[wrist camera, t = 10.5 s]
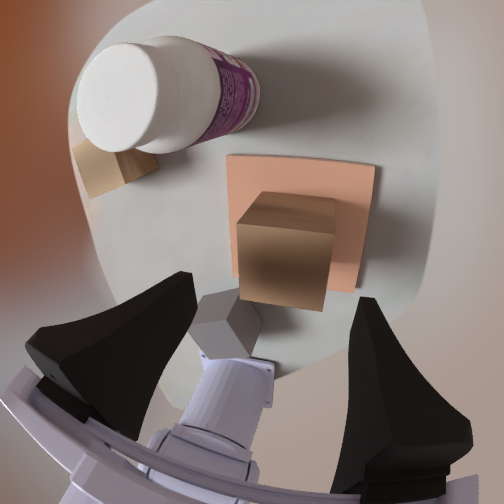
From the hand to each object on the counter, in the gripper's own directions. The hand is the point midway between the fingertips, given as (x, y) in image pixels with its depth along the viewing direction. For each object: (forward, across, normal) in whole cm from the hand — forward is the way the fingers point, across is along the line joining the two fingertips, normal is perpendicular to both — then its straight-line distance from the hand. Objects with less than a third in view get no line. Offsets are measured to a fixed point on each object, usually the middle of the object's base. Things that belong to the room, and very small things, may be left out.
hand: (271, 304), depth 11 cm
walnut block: (+8, 0, 0) cm, 8 cm away
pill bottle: (+8, +5, -9) cm, 13 cm away
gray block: (+8, +5, +8) cm, 13 cm away
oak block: (+8, +12, -5) cm, 16 cm away
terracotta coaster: (+8, 0, 0) cm, 8 cm away
